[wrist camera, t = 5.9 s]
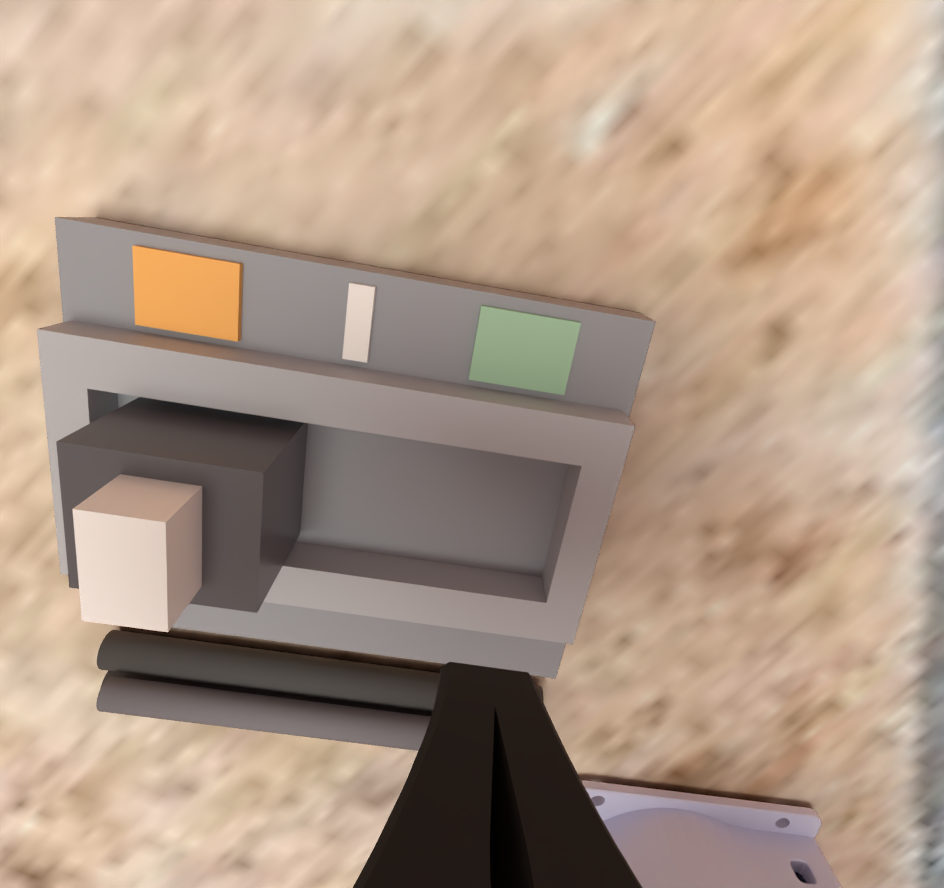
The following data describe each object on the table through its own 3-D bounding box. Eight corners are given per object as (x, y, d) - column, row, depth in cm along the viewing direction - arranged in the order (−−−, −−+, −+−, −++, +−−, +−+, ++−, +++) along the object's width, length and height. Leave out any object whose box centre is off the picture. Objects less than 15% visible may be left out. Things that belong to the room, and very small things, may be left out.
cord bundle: (540, 678, 20) (548, 729, 18) (525, 735, 21) (531, 790, 19) (118, 622, 19) (76, 669, 17) (121, 684, 20) (82, 736, 18)
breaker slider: (308, 418, 15) (234, 507, 10) (299, 534, 16) (231, 661, 11) (146, 393, 15) (-3, 472, 10) (150, 513, 16) (19, 633, 11)
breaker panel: (638, 312, 15) (671, 330, 13) (549, 645, 19) (561, 709, 17) (94, 217, 15) (16, 217, 12) (116, 585, 18) (59, 644, 16)
